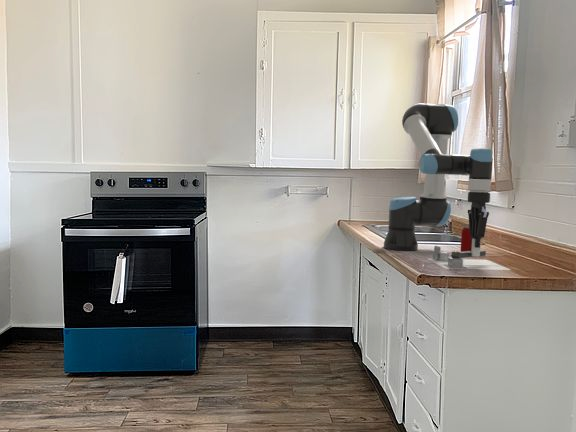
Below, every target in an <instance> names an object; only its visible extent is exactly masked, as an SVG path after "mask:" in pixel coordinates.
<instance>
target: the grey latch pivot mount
mask: <svg viewBox="0 0 576 432" xmlns="http://www.w3.org/2000/svg"><path fill="white" fill-rule="evenodd" d="M463 259H464V258H451V256H449V257H448V264H444V265H445V266H447V267H449V268H465V269H464V270H467V269H466V268H467V267H465V266H463Z"/></svg>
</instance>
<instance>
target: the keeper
mask: <svg viewBox="0 0 576 432" xmlns="http://www.w3.org/2000/svg"><path fill="white" fill-rule="evenodd" d="M448 257H450V253H449V252H447V251H441V246H438V245H434V248H433V252H432V259H434V260H436V261H448Z"/></svg>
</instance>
